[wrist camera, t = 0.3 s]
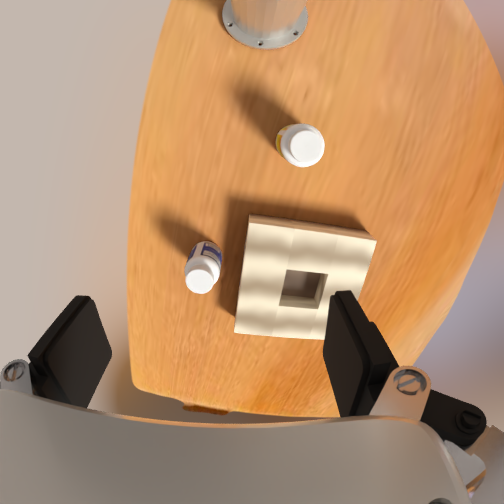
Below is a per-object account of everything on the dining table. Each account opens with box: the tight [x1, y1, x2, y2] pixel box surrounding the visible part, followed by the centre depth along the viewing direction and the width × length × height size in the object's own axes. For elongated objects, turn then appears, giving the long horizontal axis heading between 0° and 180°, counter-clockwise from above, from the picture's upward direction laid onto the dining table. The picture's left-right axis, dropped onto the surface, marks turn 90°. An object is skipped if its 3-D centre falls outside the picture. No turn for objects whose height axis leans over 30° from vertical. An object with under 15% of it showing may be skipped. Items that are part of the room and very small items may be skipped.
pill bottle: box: [185, 241, 222, 294], centre depth 44 cm, size 5×5×9 cm
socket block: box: [234, 214, 377, 340], centre depth 48 cm, size 20×20×4 cm
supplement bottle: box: [275, 124, 325, 167], centre depth 36 cm, size 6×6×10 cm
